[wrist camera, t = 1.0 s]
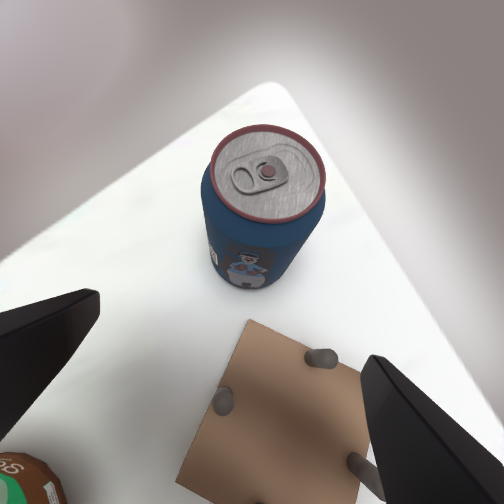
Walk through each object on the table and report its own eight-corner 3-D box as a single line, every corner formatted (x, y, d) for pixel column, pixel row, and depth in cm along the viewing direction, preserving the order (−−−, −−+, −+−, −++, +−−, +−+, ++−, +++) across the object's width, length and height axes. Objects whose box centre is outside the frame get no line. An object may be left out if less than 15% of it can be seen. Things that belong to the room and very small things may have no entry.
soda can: (268, 212, 26) (300, 103, 15) (299, 275, 24) (364, 205, 12) (200, 234, 24) (177, 132, 13) (227, 304, 22) (227, 254, 11)
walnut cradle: (330, 554, 17) (369, 631, 12) (179, 471, 18) (162, 513, 13) (372, 381, 21) (414, 389, 16) (248, 320, 22) (253, 311, 17)
